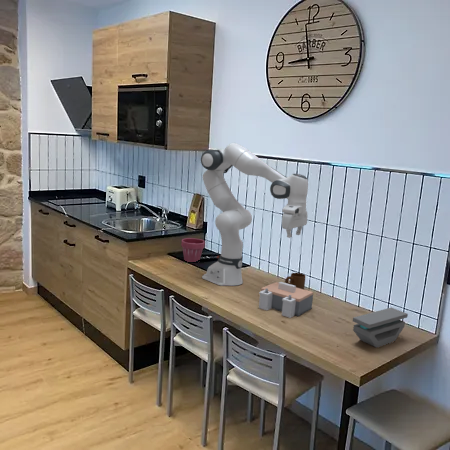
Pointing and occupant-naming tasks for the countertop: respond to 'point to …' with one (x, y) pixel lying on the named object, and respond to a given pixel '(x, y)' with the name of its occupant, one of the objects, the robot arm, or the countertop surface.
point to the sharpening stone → (379, 326)
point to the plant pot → (192, 249)
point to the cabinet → (285, 304)
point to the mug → (296, 280)
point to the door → (286, 292)
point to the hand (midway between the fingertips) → (293, 236)
